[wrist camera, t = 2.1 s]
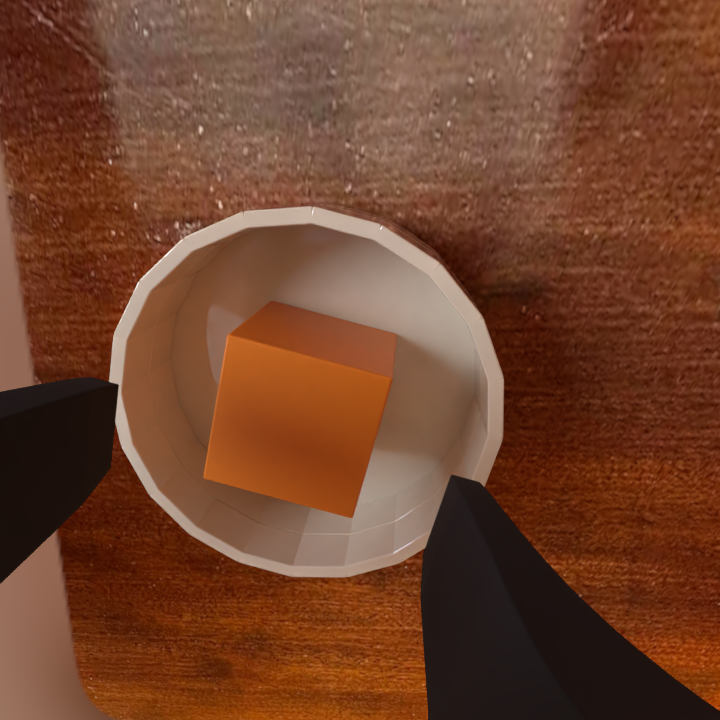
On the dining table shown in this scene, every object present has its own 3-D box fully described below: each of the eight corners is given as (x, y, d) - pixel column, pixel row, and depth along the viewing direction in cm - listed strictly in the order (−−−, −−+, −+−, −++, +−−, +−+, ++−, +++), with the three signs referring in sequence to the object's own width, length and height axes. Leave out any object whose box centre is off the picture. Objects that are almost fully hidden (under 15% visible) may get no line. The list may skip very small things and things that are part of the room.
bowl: (151, 464, 19) (95, 524, 15) (190, 164, 15) (128, 157, 12) (431, 540, 18) (435, 616, 15) (532, 255, 15) (567, 273, 12)
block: (248, 415, 17) (202, 479, 13) (270, 299, 16) (226, 334, 12) (365, 446, 17) (352, 520, 13) (397, 333, 16) (393, 378, 12)
